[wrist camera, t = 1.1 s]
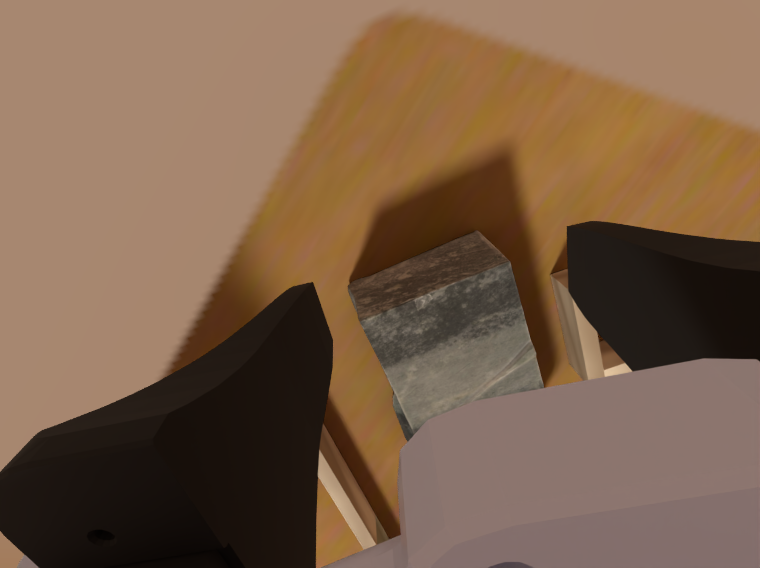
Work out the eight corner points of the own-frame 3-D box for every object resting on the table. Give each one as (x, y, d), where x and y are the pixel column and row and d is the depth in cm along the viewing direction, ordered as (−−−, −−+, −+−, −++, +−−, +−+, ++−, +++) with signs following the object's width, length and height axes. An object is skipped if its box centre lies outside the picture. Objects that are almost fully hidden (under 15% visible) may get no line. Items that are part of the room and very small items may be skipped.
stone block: (414, 447, 30) (426, 513, 25) (334, 281, 24) (329, 325, 19) (532, 407, 29) (568, 468, 24) (478, 225, 23) (510, 256, 18)
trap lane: (397, 575, 35) (400, 608, 32) (277, 372, 26) (269, 398, 23) (674, 491, 33) (698, 520, 30) (649, 239, 24) (681, 252, 21)
